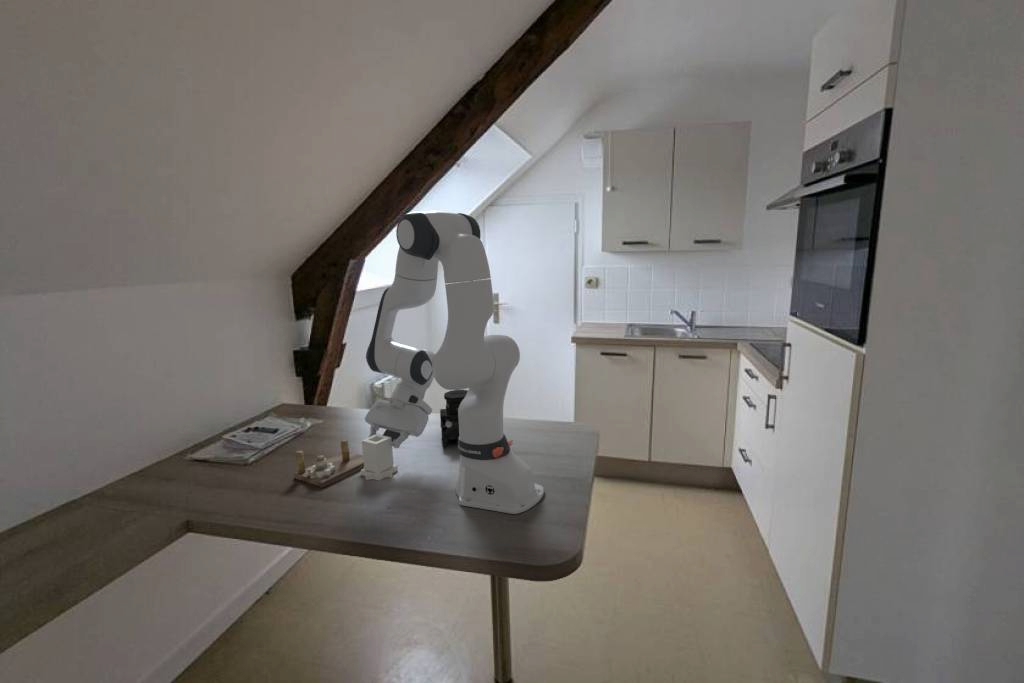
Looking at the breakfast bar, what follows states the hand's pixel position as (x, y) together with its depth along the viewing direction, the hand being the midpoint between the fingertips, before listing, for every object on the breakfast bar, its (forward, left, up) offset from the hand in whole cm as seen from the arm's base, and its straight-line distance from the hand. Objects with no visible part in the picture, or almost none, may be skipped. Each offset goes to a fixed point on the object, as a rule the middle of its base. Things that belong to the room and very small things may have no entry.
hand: (382, 443), depth 139 cm
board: (+12, +7, -8) cm, 16 cm away
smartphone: (+18, -22, -8) cm, 30 cm away
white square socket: (0, +2, -8) cm, 8 cm away
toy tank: (-4, -29, -8) cm, 30 cm away
